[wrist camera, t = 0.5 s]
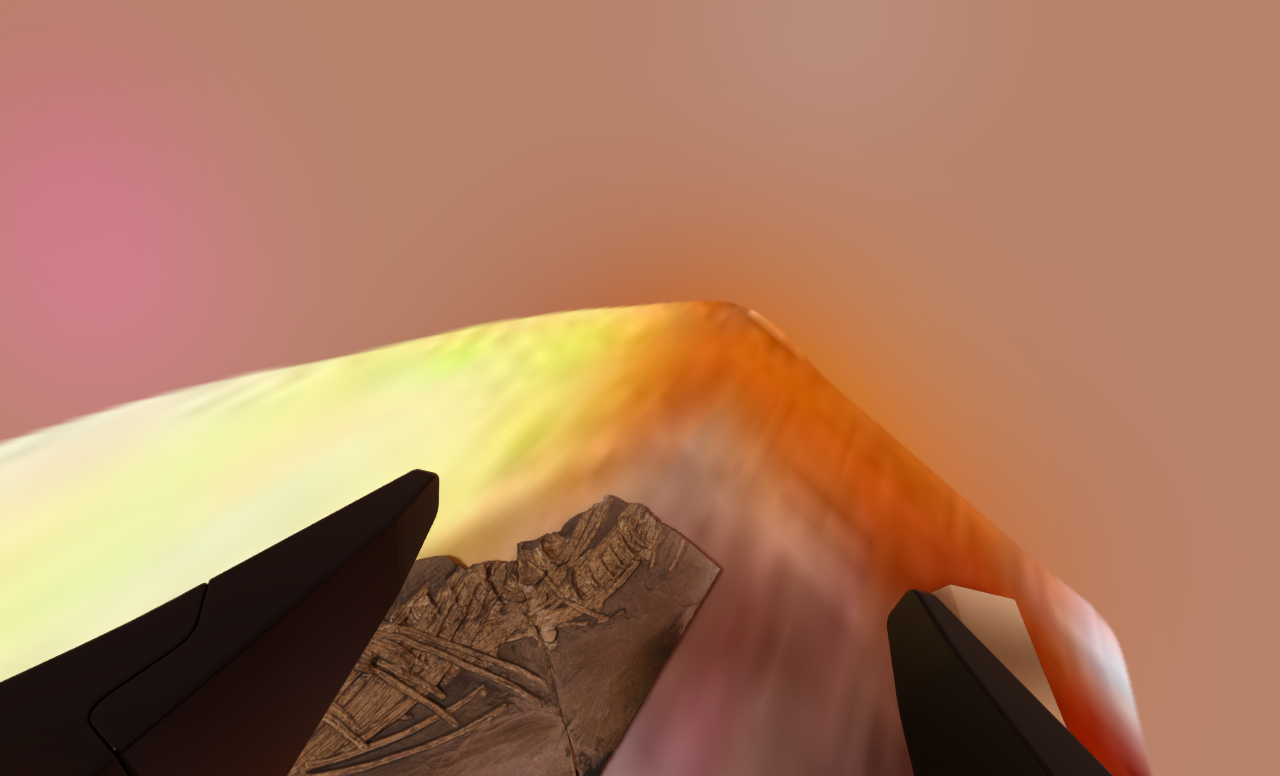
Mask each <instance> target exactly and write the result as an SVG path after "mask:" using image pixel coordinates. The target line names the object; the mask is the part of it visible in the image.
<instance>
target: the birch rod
mask: <svg viewBox="0 0 1280 776" xmlns="http://www.w3.org/2000/svg"><path fill="white" fill-rule="evenodd" d="M932 594H934V595H936V596H937V597H938V598H939V599H940V600H941V601H942V602H943V603H944V604H945V605H946V606H947V607H948V608H949V609H950V610H951V611H952V612H953V613H954V614H955V615H956V616H957V618H958V619H959V620H960V621H961V622H962V623H963V624H964V625H965V626H966V627H967V628H968V629H969V630H970V631H971V632H972V633H973V634H974V635H975V636H976V637H977V638H978V639H979V640H980V641H981V642H982V643H983V644H984V645H985V646H986V647H987V648H988V649H989V650H990V651H991V652H992V653H993V654H994V655H995V656H996V657H997V658H998V659H999V660H1000V661H1001V662H1002V663H1003V664H1004V665H1005V666H1006V667H1007V668H1008V669H1009V670H1010V671H1011V672H1012V673H1013V674H1014V675H1015V677H1016V678H1017V679H1018V680H1019V681H1020V682H1021V683H1022V684H1023V685H1024V686H1025V687H1026V688H1027V689H1028V690H1029V691H1030V692H1031V693H1032V694H1033V695H1034V696H1035V697H1036V698H1037V699H1038V700H1039V701H1040V702H1041V703H1042V704H1043V705H1044V706H1045V707H1046V708H1047V709H1048V710H1049V711H1050V712H1051V713H1052V714H1053V715H1054V716H1055V717H1056V718H1057V719H1058V720H1059V721H1060V722H1061V723H1062V724H1063V725H1064V726H1065V723H1064V721H1063V718H1062V716H1061V713H1060V711H1059V708H1058V706H1057V703H1056V701H1055V698H1054V696H1053V693H1052V691H1051V689H1050V686H1049V684H1048V681H1047V679H1046V676H1045V674H1044V671H1043V669H1042V666H1041V664H1040V661H1039V659H1038V656H1037V654H1036V651H1035V649H1034V646H1033V644H1032V642H1031V639H1030V637H1029V634H1028V632H1027V629H1026V627H1025V624H1024V622H1023V619H1022V617H1021V614H1020V612H1019V609H1018V607H1017V604H1016V602H1015V600H1014V599H1010V598H1006V597H1001V596H997V595H993V594H989V593H984V592H980V591H976V590H972V589H968V588H963V587H959V586H955V585H951V584H950V585H948V586H945V587H943V588H941V589H939V590H937V591H934V592H932ZM1065 727H1066V726H1065Z"/></svg>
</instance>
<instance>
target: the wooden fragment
mask: <svg viewBox="0 0 1280 776" xmlns="http://www.w3.org/2000/svg"><path fill="white" fill-rule="evenodd" d="M517 548H518V554H517V560H516V561H510V562H502V563H500V562H496V561H485V562H482V563H478V564H472V565H471V566H470V567H469V568H468V569H465V568H463V567H462V566H460V565H458V564H456V563H455V562H453V561H452V560H450V559H448V558H446V557H444V556H434V557H429V558H423V559H419V560H416V561H415V562H414V564H413V566H412V568H411V570H410V573H409V575H408V577H407V579H406V581H405V583H404V585H403V587H402V589H401V591H400V593H399V595H398V596H397V598H396V600H395V602H394V603H393V605H392V607H391V608H390V610H389V612H388V613H387V615H386V616H385V618H384V620H383V621H382V623H381V625H380V626H379V628H378V629H377V631H376V633H375V634H374V636H373V638H372V639H371V641H370V642H369V644H368V646H367V647H366V649H365V651H364V652H363V654H362V655H361V657H360V659H359V660H358V662H357V664H356V665H355V667H354V668H353V670H352V672H351V673H350V675H349V676H348V678H347V680H346V681H345V683H344V685H343V686H342V688H341V689H340V691H339V693H338V694H337V696H336V698H335V699H334V701H333V702H332V704H331V706H330V707H329V709H328V711H327V712H326V714H325V715H324V717H323V719H322V720H321V722H320V724H319V725H318V727H317V728H316V730H315V732H314V733H313V735H312V737H311V738H310V740H309V741H308V743H307V745H306V746H305V748H304V749H303V751H302V753H301V754H300V756H299V758H298V759H297V761H296V762H295V764H294V766H293V767H292V769H291V771H290V772H289V774H288V775H287V776H576V773H575V770H576V769H577V771H578V772H579V776H599V774H600V773H601V770H602V768H603V767H604V766H605V764H606V760H607V759H608V757H609V756H610V755H611V753H612V752H613V750H614V749H615V747H616V745H617V743H618V742H619V740H620V738H621V736H622V734H623V732H624V730H625V729H626V728H627V726H628V724H629V722H630V721H631V719H632V717H633V716H634V715H635V713H636V711H637V709H638V708H639V706H640V704H641V703H642V701H643V699H644V697H645V695H646V692H647V691H649V689H650V687H651V685H652V683H653V681H654V680H655V678H656V677H657V675H658V673H659V672H660V670H661V668H662V667H663V665H664V663H665V661H666V660H667V658H668V657H669V655H670V653H671V651H672V650H673V648H674V647H675V645H676V644H677V643H678V640H679V637H680V636H681V634H682V633H683V632H684V630H685V628H686V626H687V623H689V620H690V619H692V617H693V615H694V610H696V609H697V608H698V607H699V604H700V602H701V600H702V599H703V598H704V596H705V595H706V593H707V591H708V589H709V588H710V586H711V583H712V582H713V581H714V580H715V577H716V575H717V574H718V572H719V571H720V569H719V568H718V567H717V566H716V565H715V564H714V563H713V562H712V561H711V560H709V559H708V558H707V557H705V556H704V555H703V554H702V553H701V552H700V551H699V550H698V549H697V548H695V547H694V546H693V545H692V544H690V543H689V542H688V541H687V540H686V539H685V538H684V537H683V536H682V535H681V534H680V533H678V532H677V531H675V530H673V529H671V528H669V527H667V526H665V525H663V524H661V523H659V522H657V520H656V519H655V518H654V517H653V516H651V515H650V514H649V513H648V512H647V511H646V510H645V508H644V507H642V506H640V505H638V504H636V503H629V504H625V503H623V502H622V501H620V500H618V499H616V498H615V497H613V496H611V495H606V496H605V498H604V501H603V502H601V503H597V504H593V507H592V508H590V509H589V510H587V511H586V512H583V513H580V514H578V515H576V516H574V517H573V518H572V519H569V521H568V522H566V523H565V524H564V526H563V528H562V529H561V531H560V532H557V533H556V532H553V533H552V534H548V533H547V534H545V535H543V536H541V537H540V538H538V539H536V540H533V541H526V542H525V541H522V542H520V543H518V544H517Z"/></svg>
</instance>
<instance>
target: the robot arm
mask: <svg viewBox="0 0 1280 776" xmlns="http://www.w3.org/2000/svg"><path fill="white" fill-rule="evenodd" d="M438 507H439V476H438V475H437V474H436V473H433V472H429V471H425V470H421V469H415V470H412V471H410V472H408V473H407V474H405V475H403V476H401V477H399V478H397V479H395V480H394V481H392V482H390V483H388V484H386V485H384V486H382V487H381V488H379V489H377V490H375V491H373V492H371V493H370V494H368V495H366V496H364V497H362V498H360V499H358V500H357V501H355V502H353V503H351V504H349V505H347V506H345V507H344V508H342V509H340V510H338V511H336V512H334V513H332V514H331V515H329V516H327V517H325V518H323V519H321V520H319V521H318V522H316V523H314V524H312V525H310V526H308V527H306V528H305V529H303V530H301V531H299V532H297V533H295V534H293V535H292V536H290V537H288V538H286V539H284V540H282V541H280V542H279V543H277V544H275V545H273V546H271V547H269V548H267V549H266V550H264V551H262V552H260V553H258V554H256V555H255V556H253V557H251V558H249V559H247V560H245V561H243V562H242V563H240V564H238V565H236V566H234V567H232V568H230V569H229V570H227V571H225V572H223V573H221V574H219V575H217V576H216V577H214V578H212V579H210V580H209V582H208V584H207V583H202V584H200V585H198V586H197V587H195V588H193V589H191V590H189V591H187V592H185V593H184V594H182V595H180V596H178V597H176V598H174V599H172V600H170V601H169V602H167V603H165V604H163V605H161V606H159V607H157V608H155V609H153V610H151V611H149V612H147V613H145V614H143V615H141V616H140V617H138V618H136V619H134V620H132V621H130V622H128V623H126V624H124V625H122V626H119V627H117V628H115V629H113V630H111V631H109V632H107V633H105V634H103V635H101V636H99V637H97V638H94V639H92V640H90V641H88V642H86V643H84V644H82V645H80V646H78V647H76V648H74V649H71V650H69V651H67V652H65V653H63V654H61V655H58V656H56V657H54V658H52V659H50V660H48V661H45V662H43V663H41V664H39V665H37V666H35V667H32V668H30V669H28V670H26V671H24V672H22V673H19V674H17V675H15V676H13V677H11V678H9V679H6V680H4V681H2V682H0V776H287V775H288V774H289V772H290V771H291V769H292V767H293V766H294V764H295V762H296V761H297V759H298V758H299V756H300V754H301V753H302V751H303V749H304V748H305V746H306V745H307V743H308V741H309V740H310V738H311V737H312V735H313V733H314V732H315V730H316V728H317V727H318V725H319V724H320V722H321V720H322V719H323V717H324V715H325V714H326V712H327V711H328V709H329V707H330V706H331V704H332V702H333V701H334V699H335V698H336V696H337V694H338V693H339V691H340V689H341V688H342V686H343V685H344V683H345V681H346V680H347V678H348V676H349V675H350V673H351V672H352V670H353V668H354V667H355V665H356V664H357V662H358V660H359V659H360V657H361V655H362V654H363V652H364V651H365V649H366V647H367V646H368V644H369V642H370V641H371V639H372V638H373V636H374V634H375V633H376V631H377V629H378V628H379V626H380V625H381V623H382V621H383V620H384V618H385V616H386V615H387V613H388V612H389V610H390V608H391V607H392V605H393V603H394V602H395V600H396V598H397V596H398V595H399V593H400V591H401V589H402V587H403V585H404V583H405V581H406V579H407V577H408V575H409V573H410V570H411V568H412V566H413V564H414V562H415V560H416V558H417V556H418V554H419V551H420V549H421V547H422V545H423V543H424V541H425V539H426V537H427V535H428V533H429V530H430V528H431V526H432V524H433V522H434V520H435V518H436V515H437V512H438ZM887 630H888V638H889V645H890V652H891V659H892V667H893V674H894V681H895V688H896V695H897V702H898V707H899V713H900V718H901V722H902V727H903V731H904V735H905V739H906V744H907V748H908V752H909V756H910V760H911V765H912V769H913V773H914V776H1113V775H1112V774H1111V773H1110V772H1109V771H1108V770H1107V769H1106V768H1105V767H1104V766H1103V765H1102V764H1101V763H1100V762H1099V761H1098V760H1097V759H1096V758H1095V757H1094V756H1093V755H1092V754H1091V753H1090V752H1089V751H1088V750H1087V749H1086V748H1085V747H1084V746H1083V745H1082V744H1081V743H1080V742H1079V741H1078V740H1077V739H1076V738H1075V737H1074V735H1073V734H1072V733H1071V732H1070V731H1069V730H1068V729H1067V728H1066V727H1065V726H1064V725H1063V724H1062V723H1061V722H1060V721H1059V720H1058V719H1057V718H1056V717H1055V716H1054V715H1053V714H1052V713H1051V712H1050V711H1049V710H1048V709H1047V708H1046V707H1045V706H1044V705H1043V704H1042V703H1041V702H1040V701H1039V700H1038V699H1037V698H1036V697H1035V696H1034V695H1033V694H1032V693H1031V692H1030V691H1029V690H1028V689H1027V688H1026V687H1025V686H1024V685H1023V684H1022V683H1021V682H1020V681H1019V680H1018V679H1017V678H1016V677H1015V675H1014V674H1013V673H1012V672H1011V671H1010V670H1009V669H1008V668H1007V667H1006V666H1005V665H1004V664H1003V663H1002V662H1001V661H1000V660H999V659H998V658H997V657H996V656H995V655H994V654H993V653H992V652H991V651H990V650H989V649H988V648H987V647H986V646H985V645H984V644H983V643H982V642H981V641H980V640H979V639H978V638H977V637H976V636H975V635H974V634H973V633H972V632H971V631H970V630H969V629H968V628H967V627H966V626H965V625H964V624H963V623H962V622H961V621H960V620H959V619H958V618H957V616H956V615H955V614H954V613H953V612H952V611H951V610H950V609H949V608H948V607H947V606H946V605H945V604H944V603H943V602H942V601H941V600H940V599H939V598H938V597H937V596H936V595H934V594H932V593H929V592H925V591H921V590H917V589H910V590H908V591H907V592H906V593H905V594H904V595H903V597H902V598H901V599H900V601H899V602H898V603H897V604H896V606H895V607H894V608H893V610H892V611H891V612H890V614H889V616H888V620H887Z"/></svg>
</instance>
